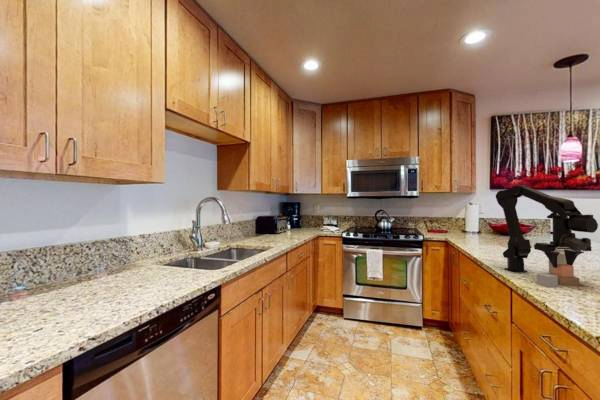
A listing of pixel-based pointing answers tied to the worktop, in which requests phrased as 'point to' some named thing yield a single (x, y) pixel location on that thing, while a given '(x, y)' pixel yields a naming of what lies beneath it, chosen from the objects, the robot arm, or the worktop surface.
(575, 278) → the walnut base
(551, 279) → the slate cube
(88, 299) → the worktop surface
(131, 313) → the worktop surface
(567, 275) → the terracotta cube
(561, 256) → the can
